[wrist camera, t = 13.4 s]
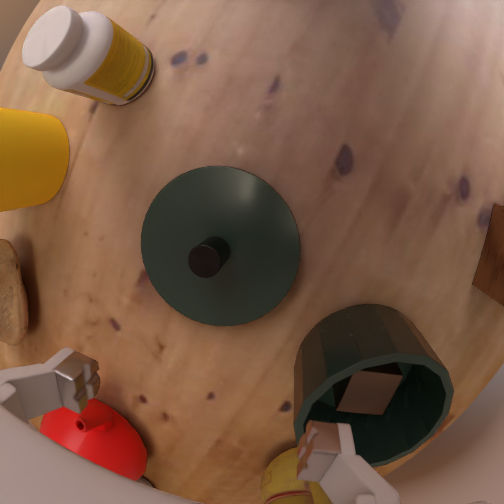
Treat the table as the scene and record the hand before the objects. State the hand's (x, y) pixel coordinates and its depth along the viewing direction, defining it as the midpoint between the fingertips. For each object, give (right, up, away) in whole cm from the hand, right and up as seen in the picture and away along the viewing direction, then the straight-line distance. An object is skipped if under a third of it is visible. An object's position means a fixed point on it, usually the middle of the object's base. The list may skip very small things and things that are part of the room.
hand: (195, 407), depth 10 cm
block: (+12, -5, +16) cm, 21 cm away
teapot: (-18, -18, +24) cm, 35 cm away
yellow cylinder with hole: (-21, +16, +16) cm, 31 cm away
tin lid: (-1, +6, +15) cm, 16 cm away
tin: (+12, -5, +17) cm, 21 cm away
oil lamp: (-28, +1, +21) cm, 35 cm away
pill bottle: (-10, +22, +13) cm, 27 cm away
